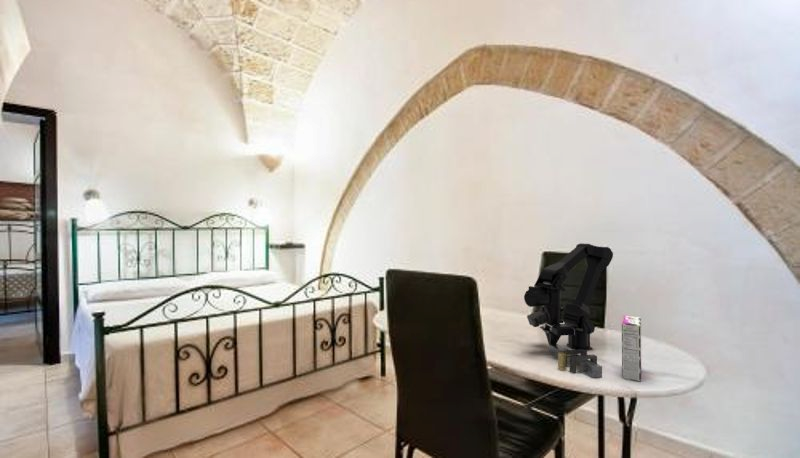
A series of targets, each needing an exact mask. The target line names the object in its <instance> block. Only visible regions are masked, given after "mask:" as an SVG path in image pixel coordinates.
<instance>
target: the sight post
mask: <svg viewBox="0 0 800 458" xmlns="http://www.w3.org/2000/svg"><path fill="white" fill-rule="evenodd" d="M570 356H571V355H566V354H565V353H563V352H562V353H558V360H557V362H558V363H557V369H558V370H560V371H566V370H567V367H566V358H570Z"/></svg>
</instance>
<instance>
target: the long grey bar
mask: <svg viewBox="0 0 800 458" xmlns="http://www.w3.org/2000/svg"><path fill="white" fill-rule="evenodd" d="M548 346H549V348H548V349H549V355H550V356H553V357H554V358H556V359H558V353H561V350H569V349H568V348H566V347H565V346H562V345H560V344H559V343H558V344H554V345H549V344H548ZM567 355H571V356H572V355H579V354H567ZM567 366H570V358H567ZM576 371H579V372H580V373H583V374H584V375H586V376H587V377H589V378H591V379H600V378H603V366H602V365H600V364H598V363H597V364H596V363H594V362H592V361H590V359H582V360H576Z"/></svg>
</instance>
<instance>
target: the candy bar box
mask: <svg viewBox="0 0 800 458" xmlns="http://www.w3.org/2000/svg"><path fill="white" fill-rule="evenodd" d="M621 362H622V363H621V374H622V375H621V379H623V378H624V379H623V380H627V379H630V381H634V380H635V381H636V382H641V381H642V317H641V316H631V315H623V317H622V322H621ZM635 381H634V382H635Z"/></svg>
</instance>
